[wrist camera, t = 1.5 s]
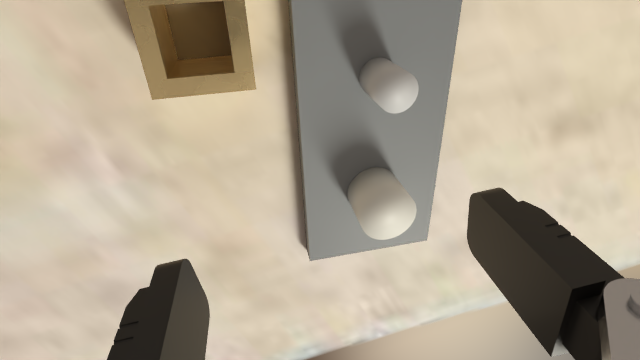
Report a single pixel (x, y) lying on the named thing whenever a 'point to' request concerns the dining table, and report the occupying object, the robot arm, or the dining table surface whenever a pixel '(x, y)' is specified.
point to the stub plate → (370, 117)
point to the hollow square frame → (195, 73)
